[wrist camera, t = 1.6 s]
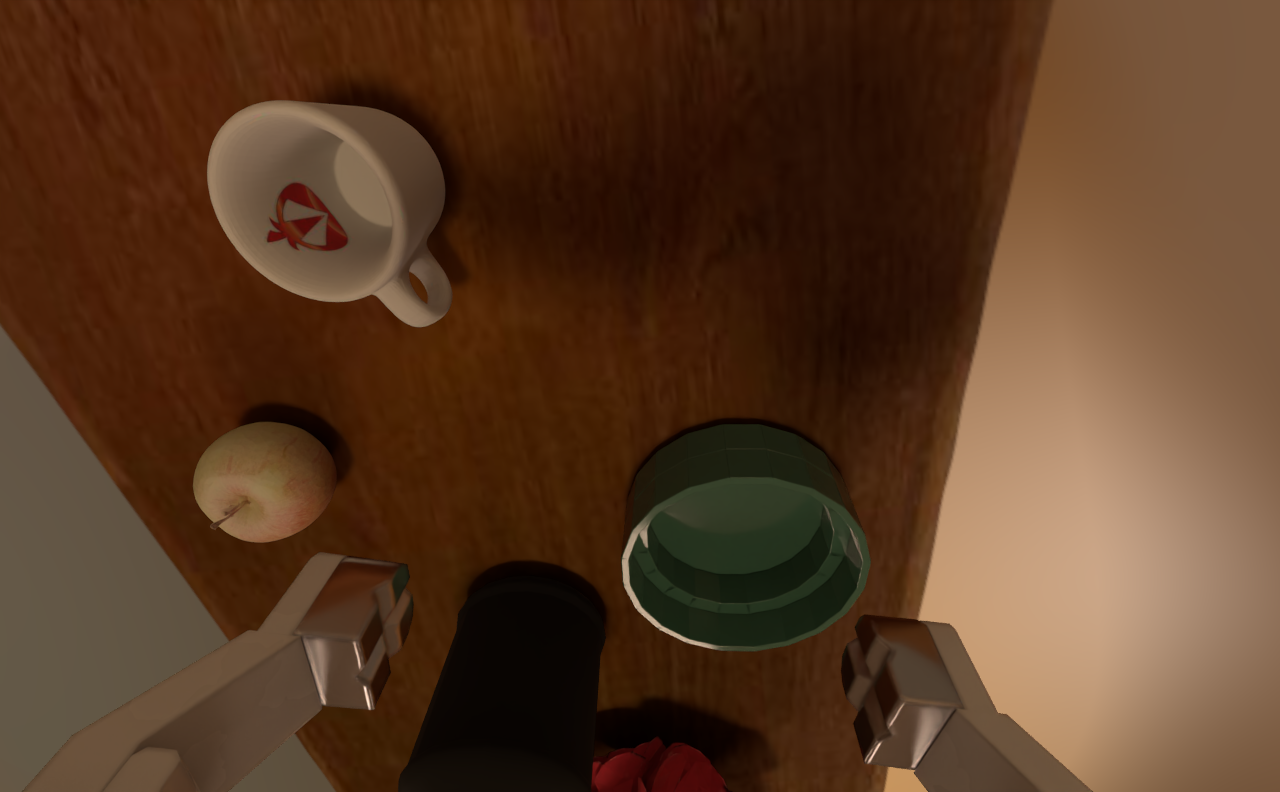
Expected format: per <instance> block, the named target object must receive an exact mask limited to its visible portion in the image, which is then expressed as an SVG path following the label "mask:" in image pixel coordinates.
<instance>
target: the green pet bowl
mask: <svg viewBox="0 0 1280 792" xmlns="http://www.w3.org/2000/svg"><path fill="white" fill-rule="evenodd" d="M870 563H871V560H870V555H869V550H868V546H867V541H866V537H865V533H864V531H863V528H862V526H861V523H860V521H859V518H858V516H857V513H856V511H855V508H854V506H853V504H852V501H851V498H850V496H849V493H848V491H847V489H846V486H845V484H844V481H843V479H842V476H841V475H840V473H839V472H838V471H837V469H836V468H835V467H834V465H833V464H832V463H831V461H830V460H829V458H828V457H827V456H826V454H825V453H824V452H823V451H821V450H819V449H818V448H816V447H815V446H813V445H812V444H810V443H809V442H807V441H805V440H804V439H802V438H801V437H799V436H798V435H795V434H793V433H790V432H786V431H783V430H779V429H775V428H772V427H768V426H764V425H760V424H723V425H722V424H721V425H718V426H714V427H710V428H706V429H703V430H699V431H695V432H691V433H687V434H686V435H684V436H682V437H680V438H679V439H677V440H675V441H674V442H672V443H670V444H669V445H667V446H665V447H664V448H662V449H660V450H659V451H657V452H656V453H655V454H654V456H653V457H652V458H651V459H650V460H649V461H648V462H647V463H646V465H645V466H644V467H643V468H642V469H641V470H640V471H639V473H638V474H637V475H636V478H635V480H634V483H633V486H632V488H631V491H630V494H629V497H628V499H627V507H626V516H625V526H624V535H623V545H622V554H621V564H622V579H623V586H624V588H625V590H626V591H627V593H628V595H629V597H630V599H631V601H632V603H633V605H634V607H635V608H636V610H637V611H639V612H640V613H641V614H642V615H643V616H644V617H645V618H646V619H647V620H648V621H650V622H651V623H652V624H653V625H654V626H655V627H656V628H658V629H659V630H661V631H663V632H665V633H667V634H669V635H671V636H673V637H675V638H677V639H679V640H681V641H683V642H685V643H689V644H693V645H697V646H702V647H706V648H710V649H714V650H720V651H760V650H765V649H771V648H777V647H783V646H788V645H791V644H794V643H796V642H798V641H801V640H803V639H806V638H808V637H811V636H813V635H816V634H818V633H820V632H822V631H823V630H825V629H826V628H827V627H829V626H830V625H831V624H833V623H834V622H836V621H837V620H838V619H840V618H841V617H842V616H844V615H845V614H846V613H847V612H848V611H849V609H850V608H851V607H852V605H853V604H854V603H855V601H856V600H857V598H858V597H859V596H860V594H861V593H862V592H863V590H864V588H865V584H866V580H867V576H868V572H869V568H870Z"/></svg>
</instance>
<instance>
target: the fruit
mask: <svg viewBox="0 0 1280 792" xmlns="http://www.w3.org/2000/svg"><path fill="white" fill-rule="evenodd" d="M336 478H337V474H336V467H335V463H334V460H333V458H332V456H331V454H330V453H329V451H328V450H327V449H326V447H325V446H324V445H323V444H322V443H321V442H320V441H319V440H317V439H316V438H315V437H314V436H313V435H311V434H310V433H308V432H307V431H305V430H303V429H301V428H298V427H295V426H292V425H288V424H284V423H276V422H257V423H252V424H247V425H244V426H241V427H238V428H236V429H234V430H232V431H230V432H228V433H226V434H224V435H223V436H221V437H220V438H219V439H217V440H216V441H215V442H214V443H213V444H212V445H210V446H209V447H208V448H207V450H206V451H205V452H204V454H203V455H202V457H201V459H200V461H199V462H198V464H197V467H196V470H195V474H194V481H193V489H194V495H195V498H196V501H197V503H198V505H199V507H200V508H201V510H202V511H203V512H204V513H205V514H206V515H207V516H208V517H209V518H210V519H211V520H212V521H213V522H214V523H212V524H211V525H210V527H211V528H212V529H214V530H216V528H217V527H218V526H219V527H220V528H222V529H223V530H224V531H225V532H227V533H229V534H230V535H232V536H234V537H237V538H239V539H241V540H245V541H250V542H270V541H275V540H279V539H282V538H286V537H288V536H291V535H293V534H295V533H297V532H299V531H301V530H303V529H304V528H306V527H307V526H309V525H310V524H311V523H312V522H314V521H315V520H316V519H317V518H318V517H319V516H320V515H321V513H322V512H323V511H324V509H325V508H326V507H327V505H328V503H329V501H330V500H331V498H332V496H333V493H334V490H335V486H336Z"/></svg>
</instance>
